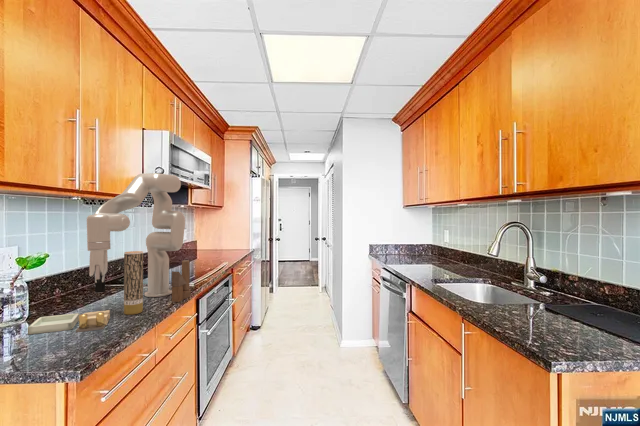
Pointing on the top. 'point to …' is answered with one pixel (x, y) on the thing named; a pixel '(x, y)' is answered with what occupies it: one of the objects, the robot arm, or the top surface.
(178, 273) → the wooden block
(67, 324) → the tray
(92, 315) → the beige stepped block
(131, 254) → the paper tube
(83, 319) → the bench dogs
